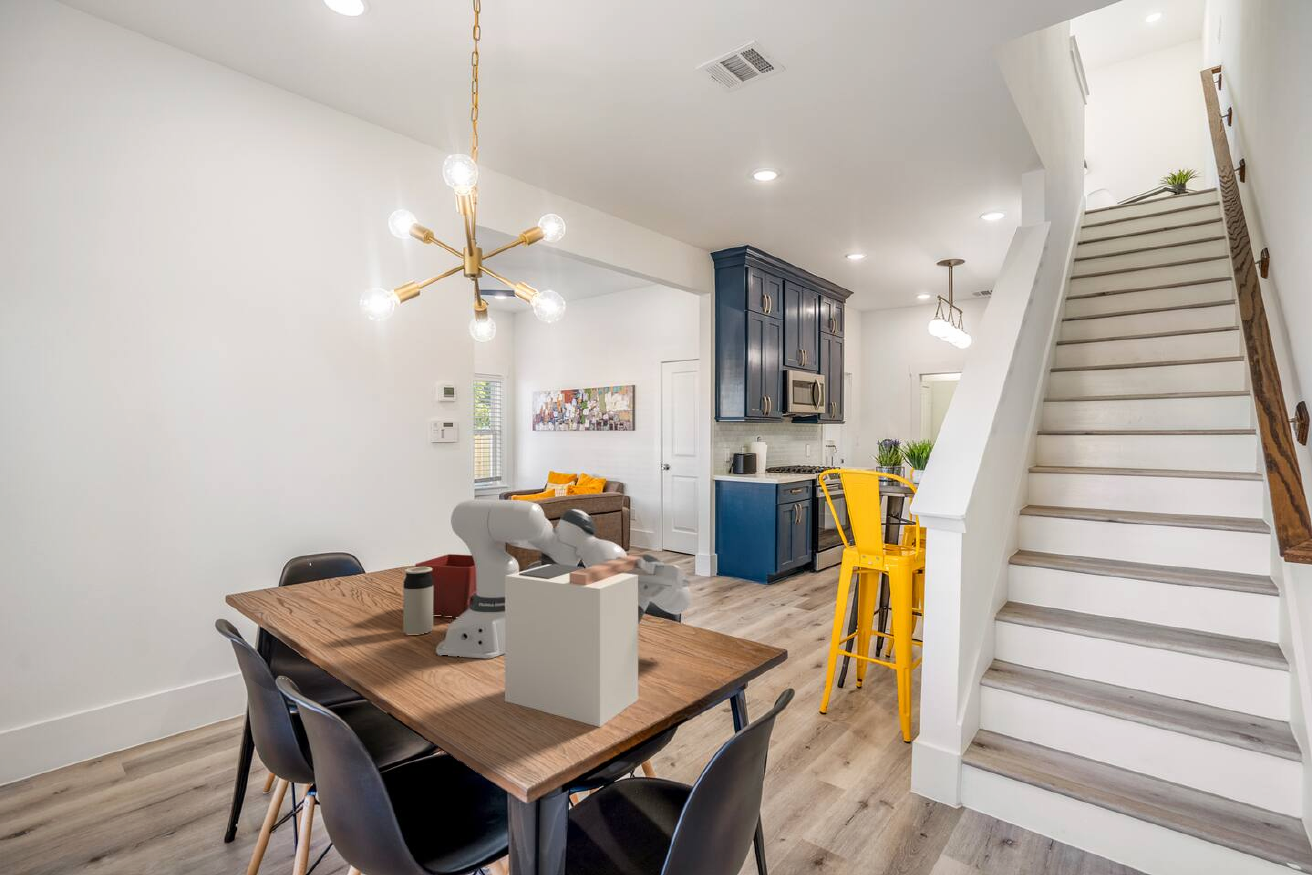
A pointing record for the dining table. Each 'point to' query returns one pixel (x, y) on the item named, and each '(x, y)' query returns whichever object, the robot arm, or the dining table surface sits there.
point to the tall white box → (571, 643)
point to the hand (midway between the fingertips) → (628, 560)
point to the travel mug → (418, 600)
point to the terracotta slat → (603, 570)
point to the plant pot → (451, 583)
